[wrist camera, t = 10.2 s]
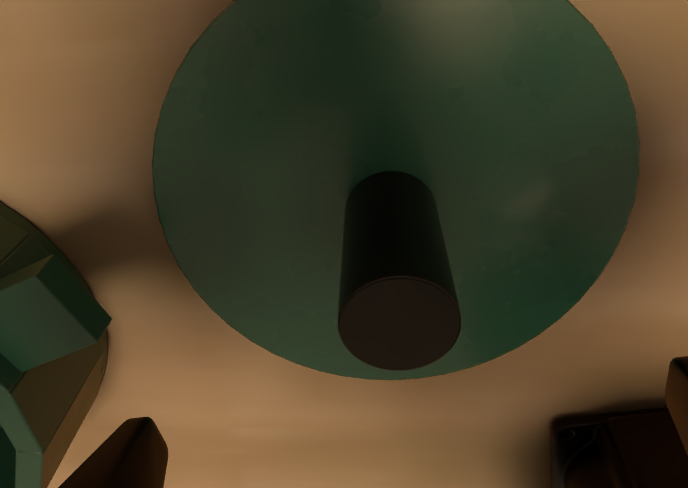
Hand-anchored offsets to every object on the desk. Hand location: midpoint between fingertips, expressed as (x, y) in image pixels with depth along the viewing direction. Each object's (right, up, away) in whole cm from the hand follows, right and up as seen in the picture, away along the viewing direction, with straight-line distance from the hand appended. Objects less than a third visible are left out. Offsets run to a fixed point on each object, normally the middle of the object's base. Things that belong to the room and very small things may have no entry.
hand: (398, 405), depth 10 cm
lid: (0, +4, +7) cm, 8 cm away
